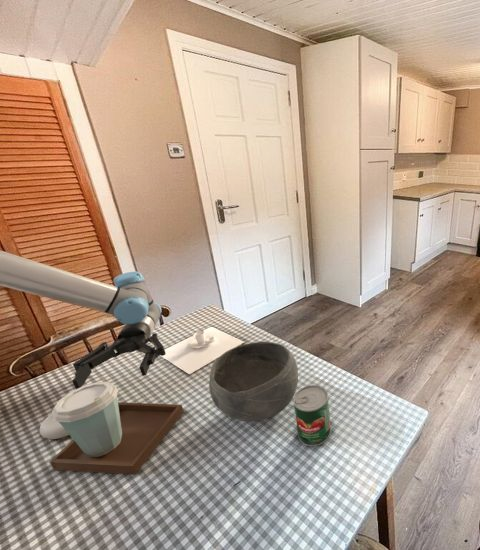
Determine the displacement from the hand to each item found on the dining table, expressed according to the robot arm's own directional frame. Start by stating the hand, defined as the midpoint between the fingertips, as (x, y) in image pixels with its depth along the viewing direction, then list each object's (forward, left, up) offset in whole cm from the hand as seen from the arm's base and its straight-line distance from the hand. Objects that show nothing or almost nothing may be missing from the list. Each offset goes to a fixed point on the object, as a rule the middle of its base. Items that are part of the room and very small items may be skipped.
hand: (110, 378), depth 75 cm
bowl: (+35, +4, -12) cm, 37 cm away
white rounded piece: (+4, +29, -12) cm, 32 cm away
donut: (-11, -4, -12) cm, 17 cm away
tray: (+6, -7, -12) cm, 15 cm away
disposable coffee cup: (+3, -9, -11) cm, 15 cm away
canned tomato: (+51, -3, -12) cm, 52 cm away
